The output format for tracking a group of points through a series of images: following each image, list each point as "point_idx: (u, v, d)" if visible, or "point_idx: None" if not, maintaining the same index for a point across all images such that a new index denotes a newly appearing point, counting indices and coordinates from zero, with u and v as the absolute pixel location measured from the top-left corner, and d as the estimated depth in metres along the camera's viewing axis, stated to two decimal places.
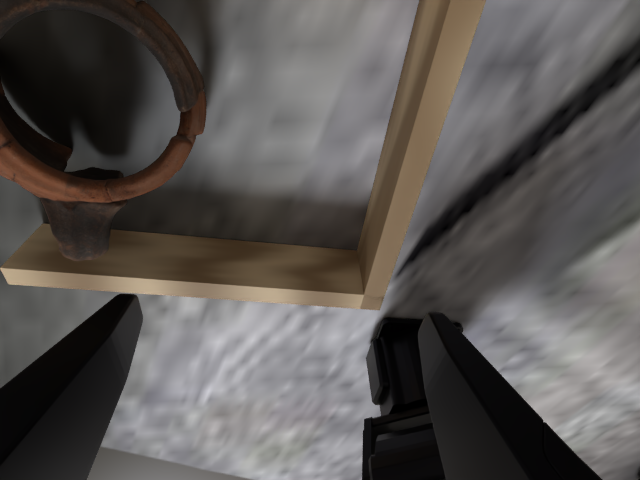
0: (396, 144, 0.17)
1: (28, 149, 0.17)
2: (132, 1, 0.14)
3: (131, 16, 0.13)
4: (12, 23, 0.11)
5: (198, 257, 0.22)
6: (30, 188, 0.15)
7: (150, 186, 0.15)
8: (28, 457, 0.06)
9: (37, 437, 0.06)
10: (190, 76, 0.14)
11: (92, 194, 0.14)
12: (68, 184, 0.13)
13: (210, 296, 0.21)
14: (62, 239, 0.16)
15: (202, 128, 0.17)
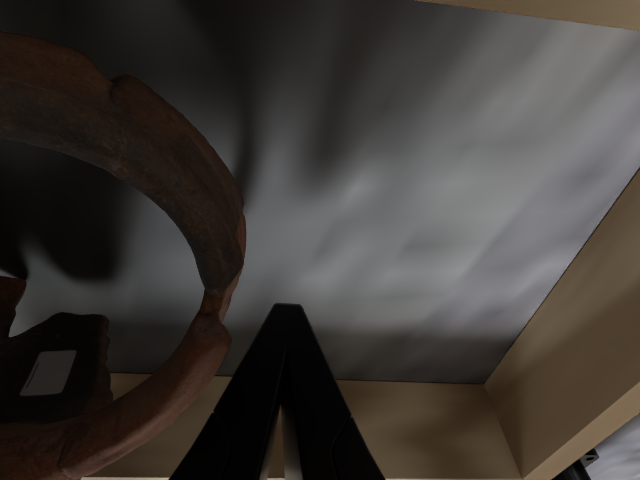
0: (629, 301, 0.11)
1: None
2: (101, 82, 0.06)
3: (95, 134, 0.05)
4: None
5: None
6: None
7: (152, 433, 0.08)
8: (265, 461, 0.06)
9: (268, 442, 0.07)
10: (230, 230, 0.07)
11: None
12: None
13: None
14: None
15: (240, 272, 0.10)
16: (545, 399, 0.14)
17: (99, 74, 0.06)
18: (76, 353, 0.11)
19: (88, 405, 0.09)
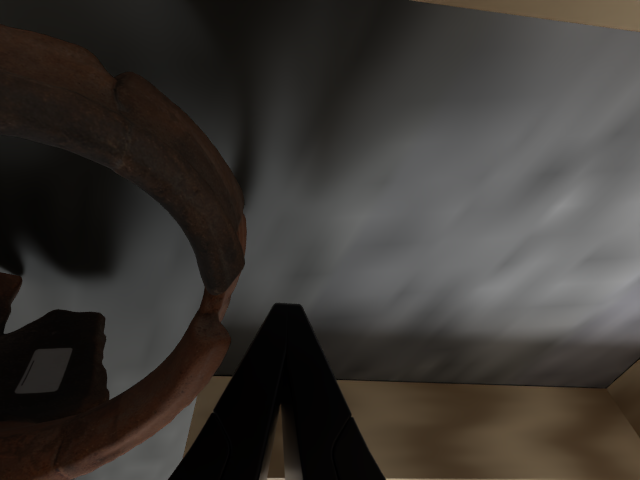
0: None
1: None
2: (106, 80, 0.06)
3: (99, 133, 0.05)
4: None
5: (425, 424, 0.16)
6: None
7: (149, 432, 0.08)
8: (264, 461, 0.06)
9: (267, 442, 0.07)
10: (232, 230, 0.07)
11: None
12: None
13: None
14: None
15: (239, 272, 0.10)
16: None
17: (103, 71, 0.06)
18: (73, 351, 0.11)
19: (84, 404, 0.09)
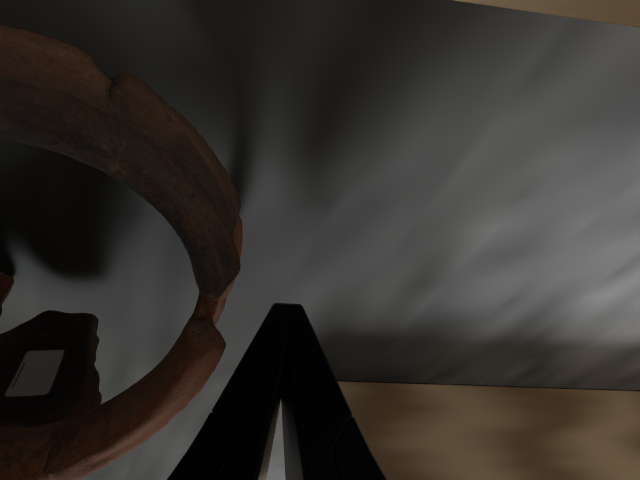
0: None
1: None
2: (100, 80, 0.06)
3: (93, 136, 0.05)
4: None
5: (517, 428, 0.16)
6: None
7: (142, 438, 0.07)
8: (263, 461, 0.06)
9: (266, 442, 0.07)
10: (228, 234, 0.07)
11: None
12: None
13: None
14: None
15: None
16: None
17: (97, 71, 0.06)
18: (64, 354, 0.11)
19: (76, 408, 0.09)
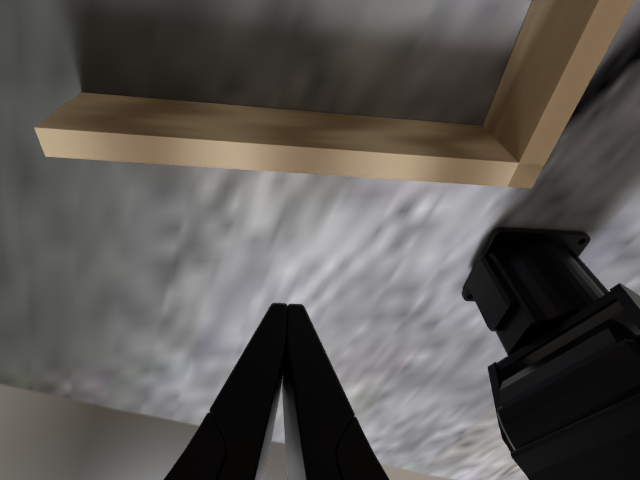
0: None
1: None
2: None
3: None
4: None
5: (292, 125, 0.17)
6: None
7: None
8: (261, 461, 0.06)
9: (264, 442, 0.07)
10: None
11: None
12: None
13: (315, 172, 0.16)
14: None
15: None
16: (538, 70, 0.15)
17: None
18: None
19: None
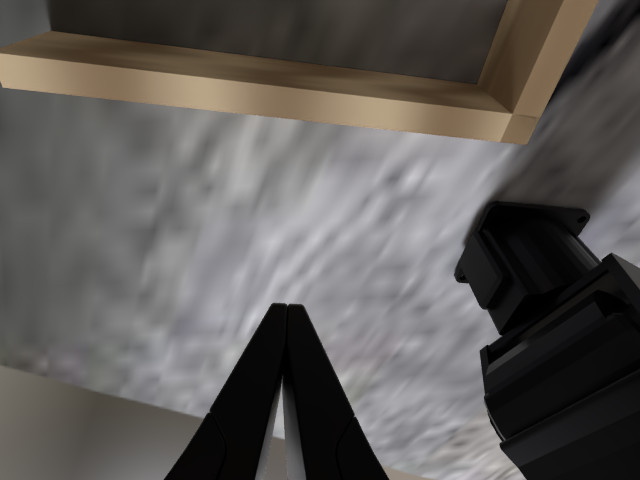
0: None
1: None
2: None
3: None
4: None
5: (271, 70, 0.16)
6: None
7: None
8: (261, 461, 0.06)
9: (264, 442, 0.07)
10: None
11: None
12: None
13: (293, 117, 0.15)
14: None
15: None
16: (535, 11, 0.14)
17: None
18: None
19: None
